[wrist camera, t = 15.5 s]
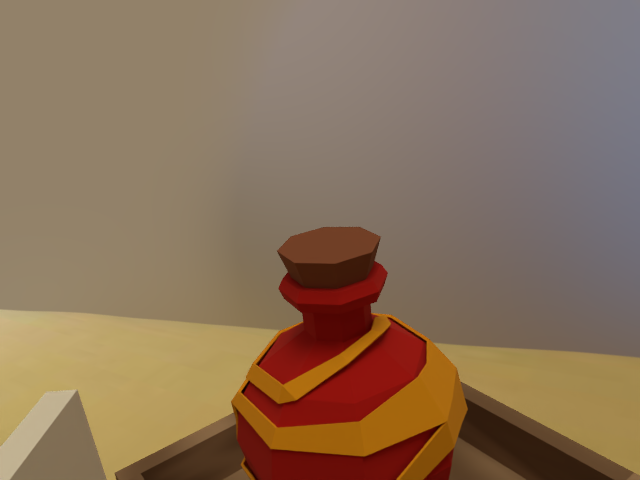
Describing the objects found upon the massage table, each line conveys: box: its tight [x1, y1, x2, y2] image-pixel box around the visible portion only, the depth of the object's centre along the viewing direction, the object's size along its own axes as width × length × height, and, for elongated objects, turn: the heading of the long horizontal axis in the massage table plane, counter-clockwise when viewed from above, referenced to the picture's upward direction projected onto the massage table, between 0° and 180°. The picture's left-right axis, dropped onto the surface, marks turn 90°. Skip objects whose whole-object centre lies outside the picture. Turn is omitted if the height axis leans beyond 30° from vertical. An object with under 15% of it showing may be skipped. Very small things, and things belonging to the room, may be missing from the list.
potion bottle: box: [231, 227, 468, 480], centre depth 26 cm, size 10×10×15 cm
